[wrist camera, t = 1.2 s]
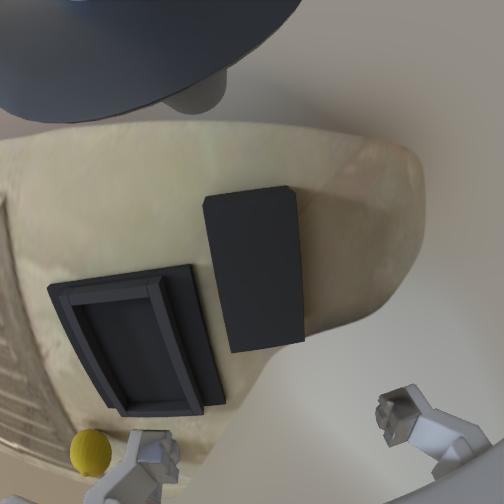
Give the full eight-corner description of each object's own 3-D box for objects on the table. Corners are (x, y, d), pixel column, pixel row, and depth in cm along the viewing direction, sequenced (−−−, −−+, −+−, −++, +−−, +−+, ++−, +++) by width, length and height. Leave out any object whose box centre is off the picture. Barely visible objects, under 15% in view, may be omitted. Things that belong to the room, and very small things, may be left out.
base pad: (50, 284, 23) (38, 295, 20) (191, 263, 23) (188, 276, 21) (109, 403, 28) (105, 417, 26) (225, 399, 29) (226, 415, 27)
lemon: (124, 438, 31) (114, 485, 24) (98, 442, 32) (86, 485, 24) (96, 415, 29) (81, 464, 22) (71, 420, 30) (55, 464, 22)
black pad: (205, 196, 21) (202, 205, 18) (286, 185, 22) (295, 191, 19) (230, 332, 26) (231, 353, 23) (297, 321, 26) (304, 341, 23)
